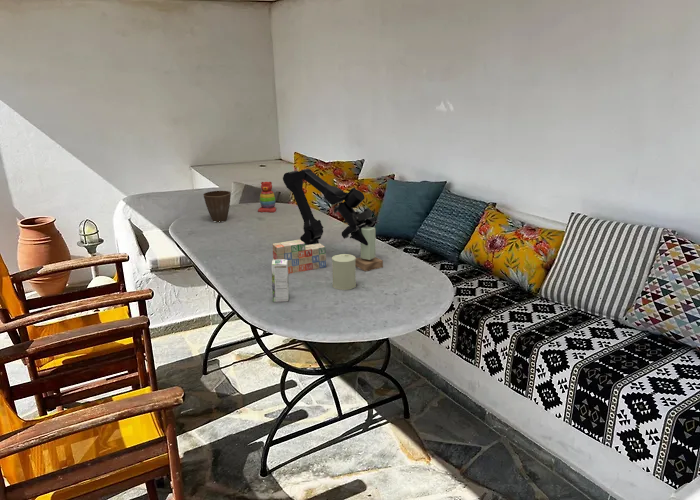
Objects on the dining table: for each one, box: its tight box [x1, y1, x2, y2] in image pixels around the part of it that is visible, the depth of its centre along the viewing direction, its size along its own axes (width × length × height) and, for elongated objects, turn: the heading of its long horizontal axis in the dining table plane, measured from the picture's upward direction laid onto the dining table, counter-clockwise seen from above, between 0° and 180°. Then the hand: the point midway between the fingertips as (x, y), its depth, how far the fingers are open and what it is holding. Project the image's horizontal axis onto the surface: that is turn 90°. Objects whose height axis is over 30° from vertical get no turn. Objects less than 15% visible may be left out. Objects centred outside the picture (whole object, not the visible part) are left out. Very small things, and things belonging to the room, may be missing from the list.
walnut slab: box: [355, 256, 384, 272], centre depth 226 cm, size 9×9×3 cm
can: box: [331, 253, 357, 291], centre depth 204 cm, size 9×9×12 cm
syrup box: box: [271, 259, 290, 303], centre depth 192 cm, size 6×6×14 cm
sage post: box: [360, 226, 376, 260], centre depth 223 cm, size 4×4×13 cm
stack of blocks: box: [272, 239, 327, 275], centre depth 223 cm, size 21×6×12 cm, turn 115°
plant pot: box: [203, 190, 232, 223], centre depth 299 cm, size 15×15×16 cm
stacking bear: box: [257, 181, 277, 213], centre depth 321 cm, size 11×10×18 cm
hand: (370, 243), depth 223 cm, fingers closed on sage post, 4 cm apart
